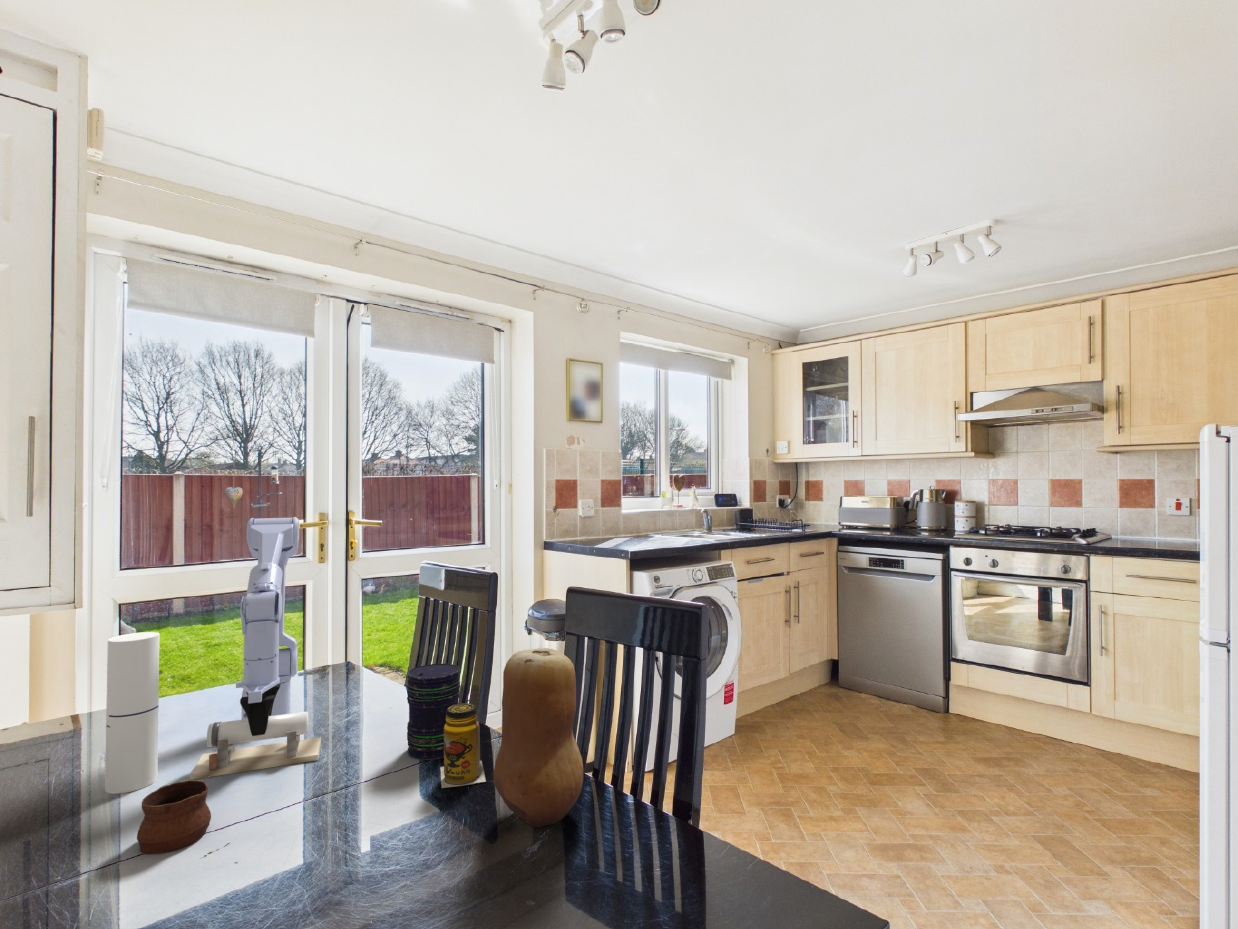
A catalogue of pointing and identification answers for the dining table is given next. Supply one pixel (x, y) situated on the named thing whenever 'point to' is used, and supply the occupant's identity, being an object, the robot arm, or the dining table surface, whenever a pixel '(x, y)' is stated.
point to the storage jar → (430, 707)
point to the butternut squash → (539, 737)
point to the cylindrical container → (132, 712)
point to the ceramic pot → (174, 817)
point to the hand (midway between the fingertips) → (260, 730)
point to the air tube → (241, 733)
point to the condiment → (461, 747)
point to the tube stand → (256, 756)
